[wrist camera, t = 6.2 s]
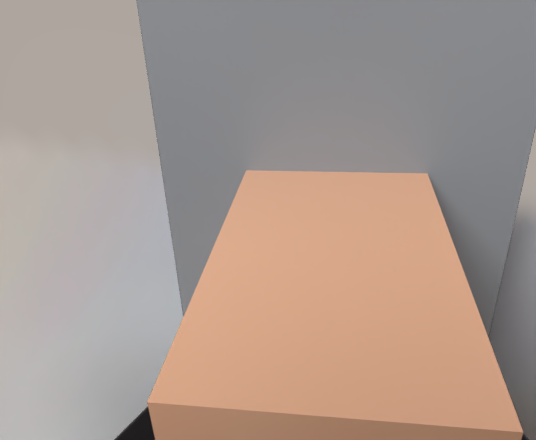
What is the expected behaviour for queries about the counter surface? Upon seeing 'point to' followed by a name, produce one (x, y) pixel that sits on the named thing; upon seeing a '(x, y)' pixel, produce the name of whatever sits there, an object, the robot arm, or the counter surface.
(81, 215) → the counter surface
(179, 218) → the gray rectangular panel
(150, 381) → the counter surface
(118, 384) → the counter surface
